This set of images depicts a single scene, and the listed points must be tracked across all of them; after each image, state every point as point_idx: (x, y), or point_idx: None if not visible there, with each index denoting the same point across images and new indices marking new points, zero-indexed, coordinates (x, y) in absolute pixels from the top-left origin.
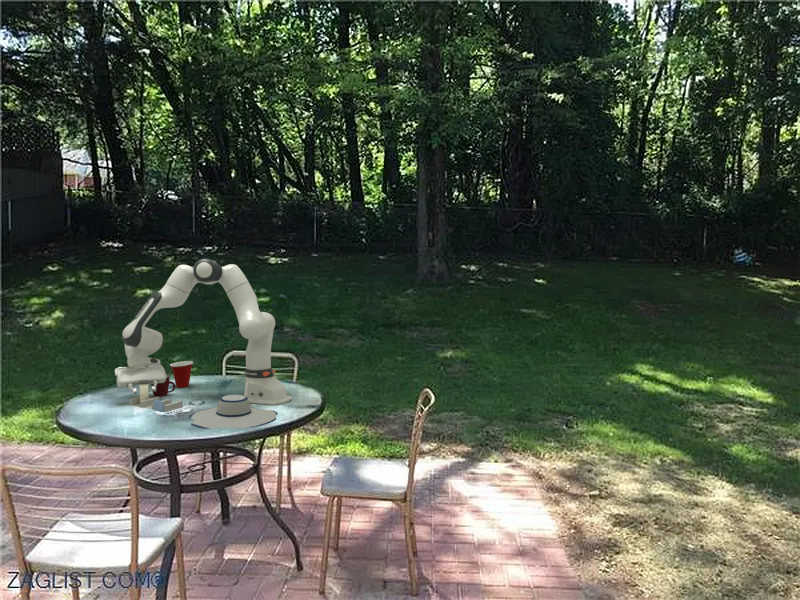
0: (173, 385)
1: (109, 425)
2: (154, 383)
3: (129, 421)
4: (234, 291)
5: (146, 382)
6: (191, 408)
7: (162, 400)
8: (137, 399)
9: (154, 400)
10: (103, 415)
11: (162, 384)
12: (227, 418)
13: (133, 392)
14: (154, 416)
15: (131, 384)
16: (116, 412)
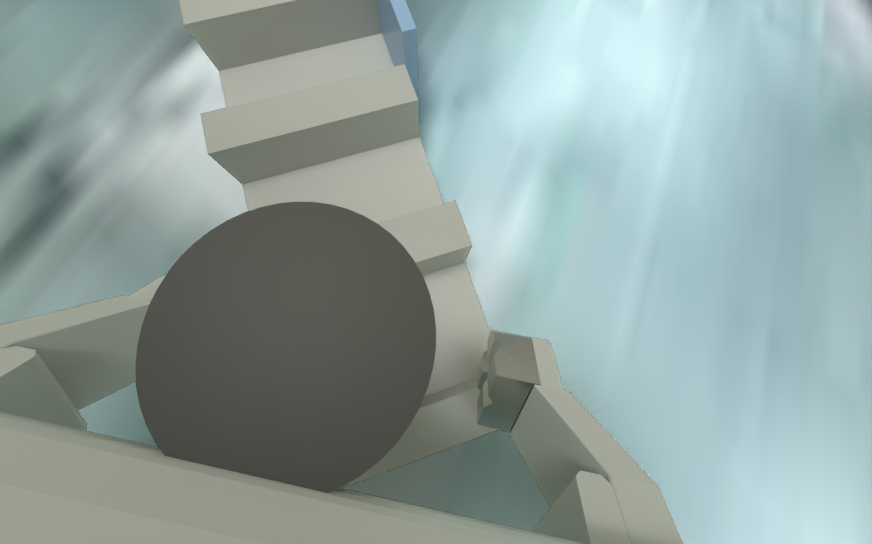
0: None
1: (744, 53)
2: (47, 370)
3: (619, 57)
4: None
5: (286, 211)
6: (153, 83)
7: (288, 128)
8: (437, 400)
9: (409, 27)
10: (745, 316)
11: None
12: None
13: (535, 340)
14: (450, 61)
15: (601, 491)
16: (636, 341)
